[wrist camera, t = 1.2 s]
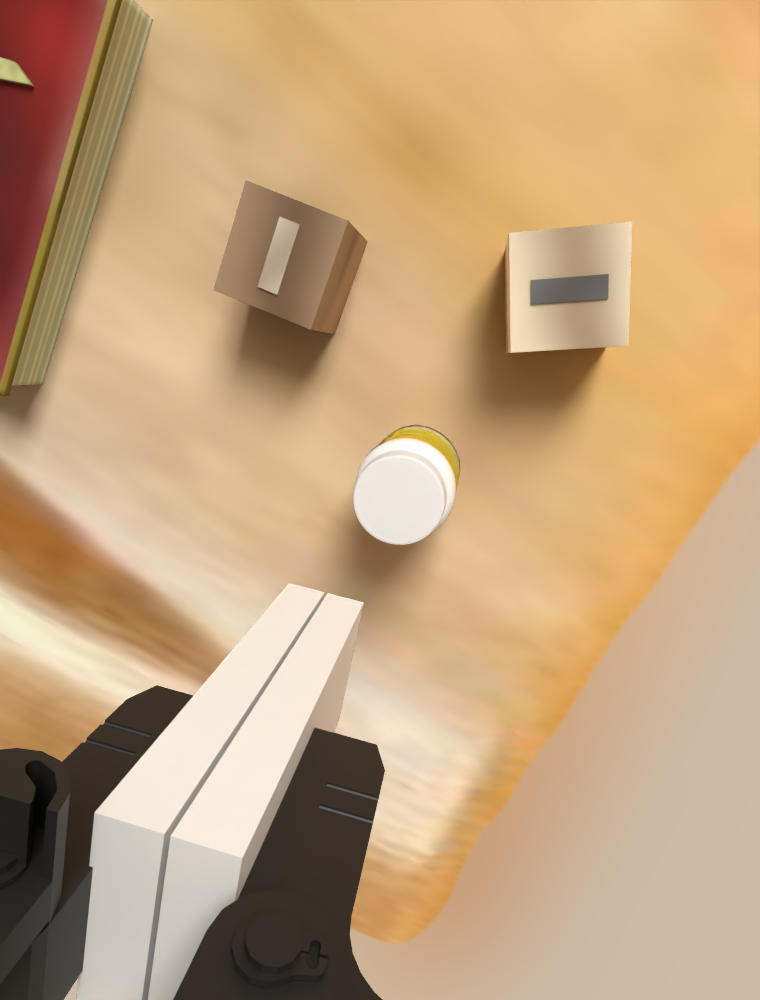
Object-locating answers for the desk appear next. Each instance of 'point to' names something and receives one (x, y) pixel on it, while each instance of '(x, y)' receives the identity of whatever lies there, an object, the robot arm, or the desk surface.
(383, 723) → the desk surface
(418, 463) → the supplement bottle
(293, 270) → the walnut block
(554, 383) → the desk surface
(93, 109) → the hardcover book
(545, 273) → the beech block
